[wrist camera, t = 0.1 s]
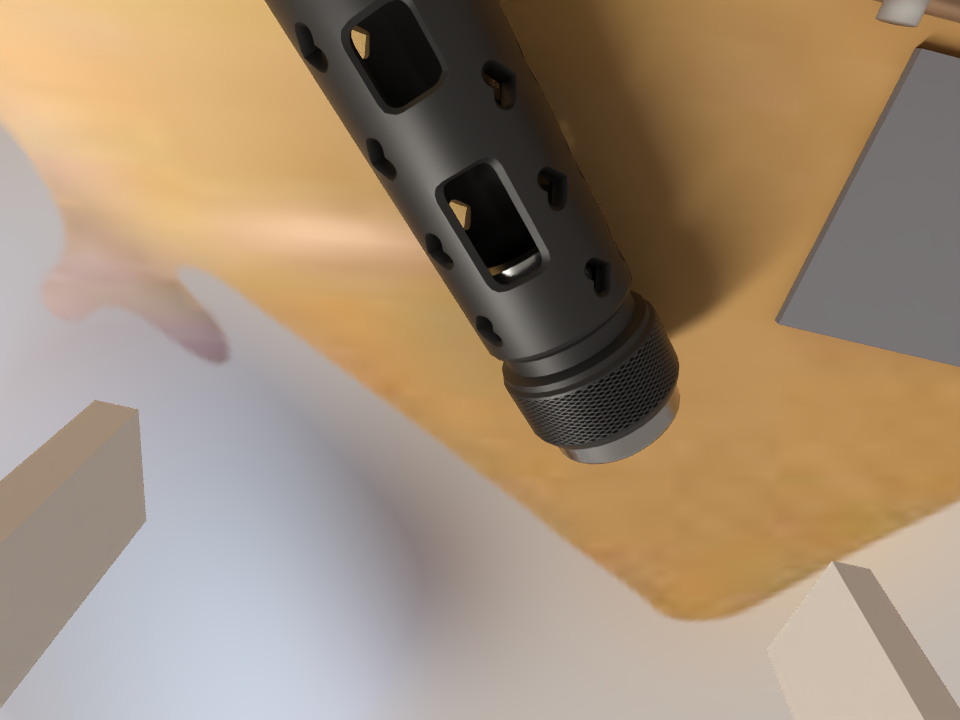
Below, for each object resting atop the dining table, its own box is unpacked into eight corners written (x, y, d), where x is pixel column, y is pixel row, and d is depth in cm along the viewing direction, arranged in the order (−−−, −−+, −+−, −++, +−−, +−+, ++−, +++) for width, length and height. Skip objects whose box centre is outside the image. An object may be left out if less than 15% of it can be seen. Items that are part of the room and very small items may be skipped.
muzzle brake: (455, -104, 29) (424, -165, 20) (671, 343, 40) (714, 433, 31) (305, 9, 32) (218, 0, 23) (544, 399, 43) (550, 497, 34)
